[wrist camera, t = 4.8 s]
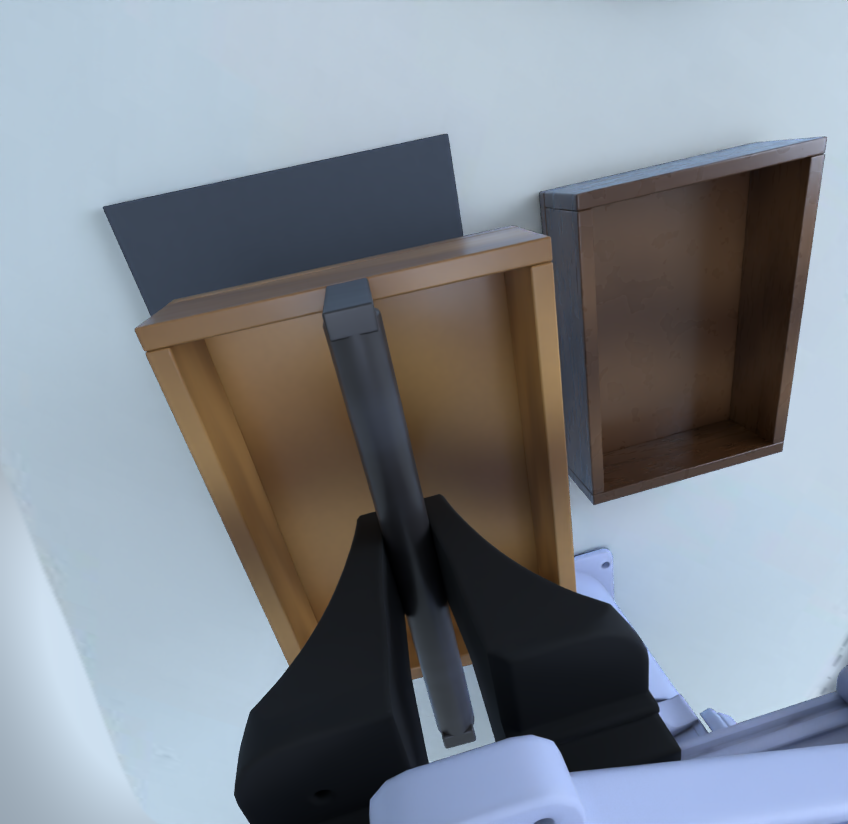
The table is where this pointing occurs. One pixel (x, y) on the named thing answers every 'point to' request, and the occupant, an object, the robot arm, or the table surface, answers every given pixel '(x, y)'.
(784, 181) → the dark brown wooden box
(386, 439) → the box
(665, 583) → the table surface
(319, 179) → the mat
